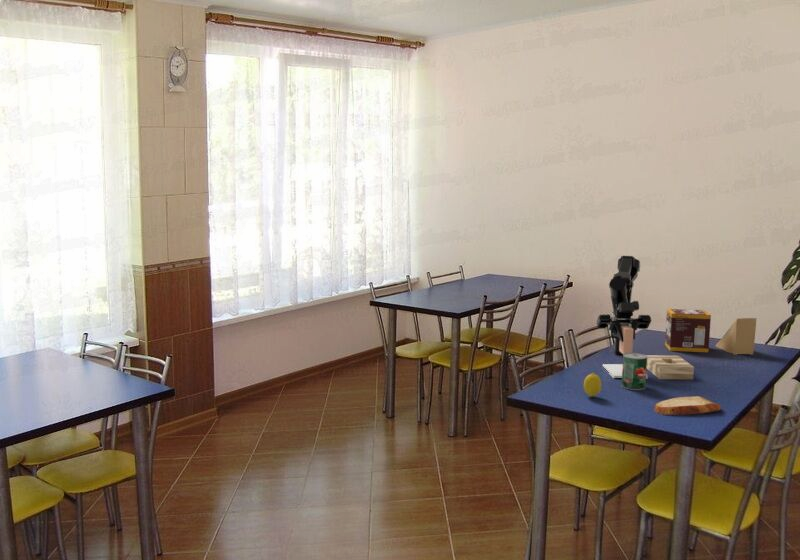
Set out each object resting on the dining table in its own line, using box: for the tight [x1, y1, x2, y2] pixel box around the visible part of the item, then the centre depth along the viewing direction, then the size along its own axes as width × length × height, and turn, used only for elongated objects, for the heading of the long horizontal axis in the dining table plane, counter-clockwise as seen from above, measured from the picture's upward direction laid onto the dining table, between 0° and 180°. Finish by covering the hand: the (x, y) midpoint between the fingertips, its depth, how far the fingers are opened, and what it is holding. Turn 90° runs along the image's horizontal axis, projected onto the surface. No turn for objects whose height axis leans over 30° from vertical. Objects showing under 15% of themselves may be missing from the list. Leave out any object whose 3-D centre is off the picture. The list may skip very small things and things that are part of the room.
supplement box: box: [664, 308, 712, 353], centre depth 320 cm, size 10×15×16 cm
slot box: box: [645, 354, 695, 380], centre depth 283 cm, size 16×12×4 cm
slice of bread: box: [653, 395, 722, 416], centre depth 242 cm, size 18×18×4 cm
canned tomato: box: [621, 352, 648, 391], centre depth 265 cm, size 8×8×11 cm
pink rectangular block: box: [619, 325, 634, 354], centre depth 282 cm, size 6×3×10 cm, turn 0°
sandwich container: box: [715, 317, 757, 356], centre depth 319 cm, size 9×15×15 cm, turn 7°
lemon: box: [583, 372, 602, 398], centre depth 254 cm, size 6×6×8 cm
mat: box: [601, 363, 649, 380], centre depth 284 cm, size 16×12×1 cm
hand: (627, 341), depth 281 cm, fingers closed on pink rectangular block, 3 cm apart
